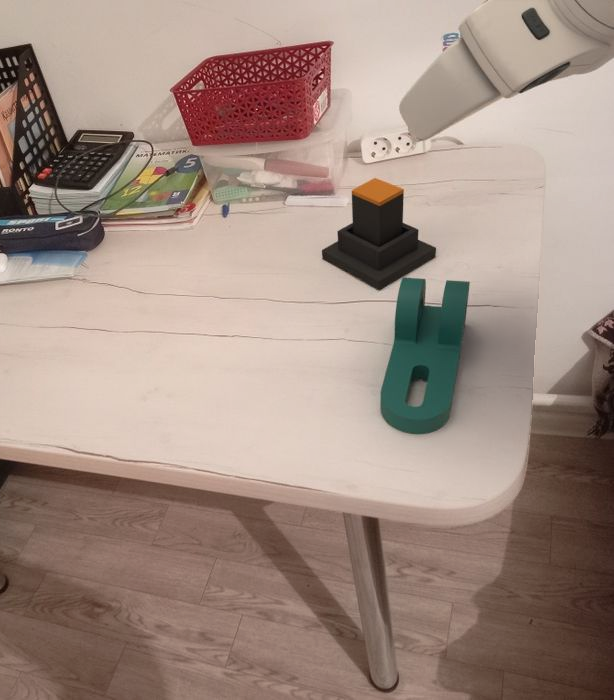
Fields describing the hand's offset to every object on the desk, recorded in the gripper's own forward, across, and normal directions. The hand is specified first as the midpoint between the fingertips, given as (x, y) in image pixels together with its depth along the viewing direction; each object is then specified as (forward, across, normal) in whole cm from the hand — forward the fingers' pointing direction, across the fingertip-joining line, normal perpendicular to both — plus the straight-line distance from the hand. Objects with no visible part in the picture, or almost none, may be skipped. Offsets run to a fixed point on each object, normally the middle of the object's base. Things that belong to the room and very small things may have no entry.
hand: (454, 112), depth 57 cm
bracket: (+15, +7, +22) cm, 28 cm away
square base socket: (+29, -5, +8) cm, 31 cm away
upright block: (+28, -5, +6) cm, 29 cm away
